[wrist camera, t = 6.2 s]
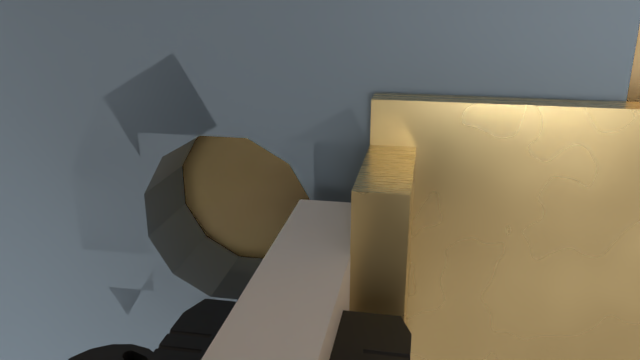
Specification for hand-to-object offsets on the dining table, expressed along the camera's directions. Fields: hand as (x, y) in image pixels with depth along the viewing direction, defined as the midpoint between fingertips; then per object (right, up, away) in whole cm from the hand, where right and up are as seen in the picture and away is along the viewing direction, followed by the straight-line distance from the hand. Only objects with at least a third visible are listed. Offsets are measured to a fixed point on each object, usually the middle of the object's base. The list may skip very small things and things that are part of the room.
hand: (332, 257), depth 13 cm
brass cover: (+4, 0, 0) cm, 4 cm away
